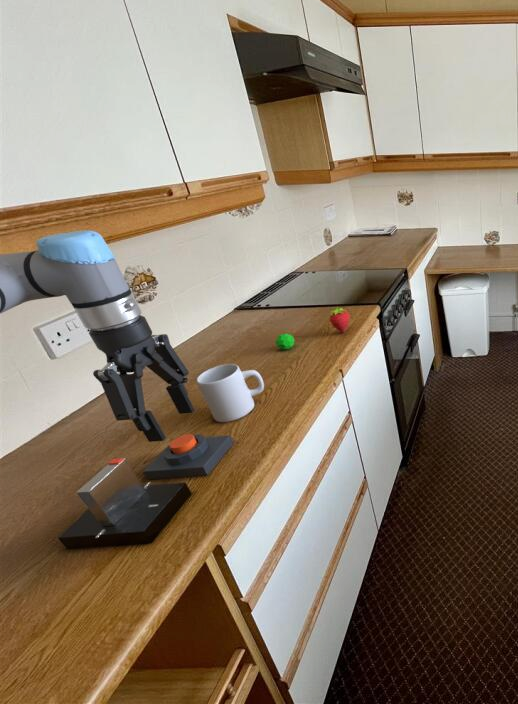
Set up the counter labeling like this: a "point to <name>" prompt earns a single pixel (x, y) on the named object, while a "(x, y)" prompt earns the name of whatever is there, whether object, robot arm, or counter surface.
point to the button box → (189, 459)
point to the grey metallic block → (112, 492)
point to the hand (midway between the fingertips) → (173, 425)
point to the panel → (129, 520)
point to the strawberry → (339, 319)
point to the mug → (228, 391)
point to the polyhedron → (285, 341)
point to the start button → (183, 444)
